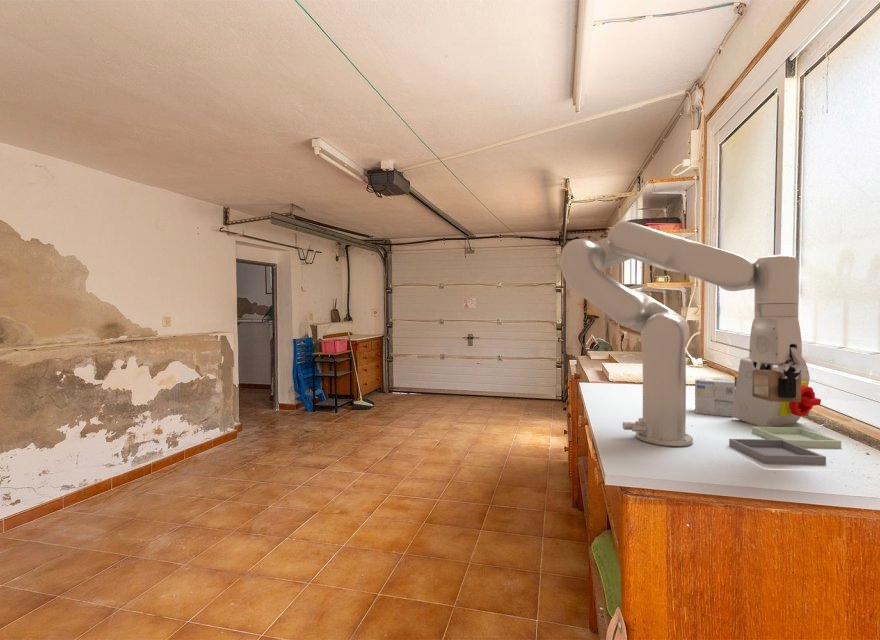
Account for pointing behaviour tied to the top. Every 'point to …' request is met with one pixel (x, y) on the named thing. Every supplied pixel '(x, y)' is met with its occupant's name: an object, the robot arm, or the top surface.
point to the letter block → (772, 386)
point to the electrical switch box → (768, 411)
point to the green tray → (797, 436)
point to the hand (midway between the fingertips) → (775, 393)
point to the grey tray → (777, 451)
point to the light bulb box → (714, 396)
